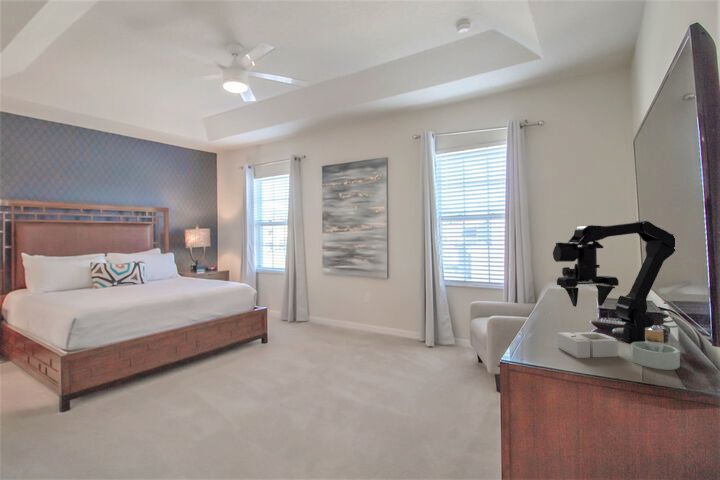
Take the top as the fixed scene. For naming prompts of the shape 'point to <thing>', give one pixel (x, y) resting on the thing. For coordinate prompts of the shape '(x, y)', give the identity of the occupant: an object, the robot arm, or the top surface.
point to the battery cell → (654, 339)
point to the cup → (655, 356)
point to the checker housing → (587, 344)
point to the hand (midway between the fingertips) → (587, 306)
